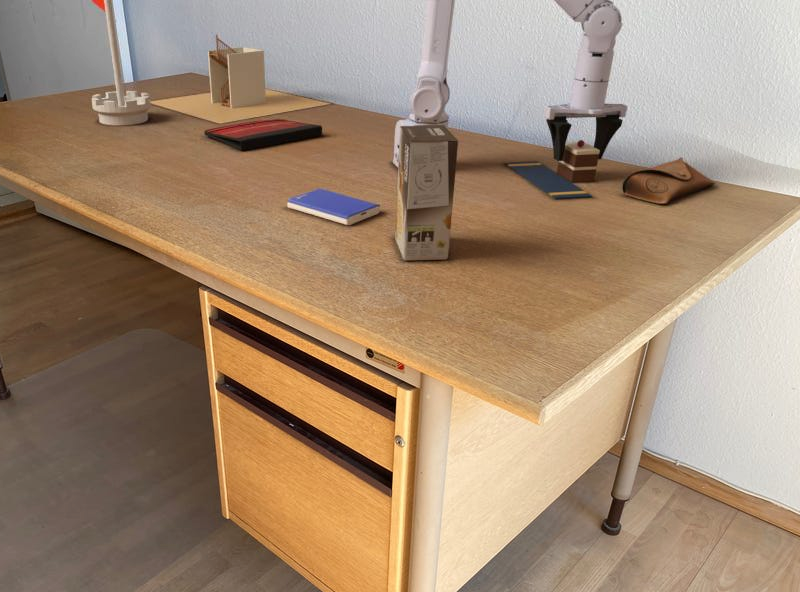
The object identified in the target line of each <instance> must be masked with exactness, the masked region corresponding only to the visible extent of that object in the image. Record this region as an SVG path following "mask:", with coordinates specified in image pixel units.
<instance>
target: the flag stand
mask: <svg viewBox="0 0 800 592" xmlns="http://www.w3.org/2000/svg"><path fill="white" fill-rule="evenodd" d="M91 2H92V3H93V4H95V5H96V6H97V7H98V8H100V9H101V10H102V11H104V12H105V17H106V25H107V31H108V40H109V46H110V54H111V60H112V69H113V76H114V84H115V90H116V91H115V90H114V91H106V92H105V93H104V94H105V97H102V94H100V93H96V94H94V95H92V97H91V104H92V105H91V106H92V110H94V111H95V112H96V113H97V114H98V121H99V123H100V124H103V125H106V126H133V125H138V124H142V123H145V122H147V121H149V115H148V110H149V109H150V108H151V106H152V104H151V102H150V101H151V98H150V94H149V93H147V92H141V93H140V95H141V96H139V95H138V91H137V90H126V91H125V94H126V95H125V94H124V87H123V79H122V71H121V70H122V69H121V64H120V56H119V55H120V54H119V48H118V40H117V34H116V33H117V32H116V25H115V18H114V10H113V2H112V0H91Z"/></svg>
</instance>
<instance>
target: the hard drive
mask: <svg viewBox="0 0 800 592" xmlns="http://www.w3.org/2000/svg"><path fill="white" fill-rule="evenodd" d="M287 208H289V209H291V210H296V211H298V212H302V213H306V214H309V215H311V216H314V217H315V216H316V217H318V218H322V219H326V220H329V221H332V222H335V223H339V224H342V225H345V226H352V225H353V224H357V223H358V222H360V221H363V220H366V219H368V218H371V217H373V216H376V215H378V214H380V212H381V205H380V204H378V203H375V202H370V201H366V200H364V199H359V198H356V197H352V196H349V195H345V194H341V193H337V192H335V191H331V190H327V189H324V188H317V189H314V190H311V191H308V192H304V193H302V194H299V195H296V196H293V197H290V198H288V199H287Z"/></svg>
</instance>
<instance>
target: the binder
mask: <svg viewBox="0 0 800 592" xmlns="http://www.w3.org/2000/svg"><path fill="white" fill-rule="evenodd" d="M203 133H204V136H207V137H208V138H212V139H214V140H217V141H219V142H222V143H223V144H227V145H228V146H230V147H232V148H234V149H236V150H238V151H242V152H243V151H248V150H253V149H258V148H263V147H264V148H265V147H268V146H274V145H280V144H285V143H289V142H296V141H300V140H306V139H311V138H315V137H321V136H322V135H323V126H322V125H320V124H316V123H315V124H313V123H306V122H300V121H293V120H288V119H283V118H282V119H280V118H278V119H264V120H254V121H248V122H241V123H235V124H228V125H224V126H218V127H213V128H209V129H205V130H204V131H203Z"/></svg>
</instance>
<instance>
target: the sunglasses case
mask: <svg viewBox="0 0 800 592" xmlns="http://www.w3.org/2000/svg"><path fill="white" fill-rule="evenodd" d="M714 185H716V183H715V182H714V181H713V180H712V179H710V178H709V177H707V176H706V175H704V174H703V173H702V172H700V171H698V170H697V169H696V168H694V167H693V166H691V165H690V164H688V163H687V162H686V161H684V158H683V157H682V156H681V157H679V158H678V159H675V160H673V161H672V160H671V161H668V162H665V163H661V164H657V165H655V166H652V167H649V168H645V169H640V170H637V171H634V172H632V173H631V174H629V175H628V176H627V177H626V178H625V179H624V180H623V182H622V186H621V190H622V192H623V194H624V196H626V197H630V198H632V199H635V200H638V201H642V202H647V203H652V204H658V205H666V204H668V203H670V202H672V201H674V200H677V199H680V198H682V197H685V196H688V195H690V194H694V193H697V192H699V191H702V190H704V189H708V188H709V187H712V186H714Z"/></svg>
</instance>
